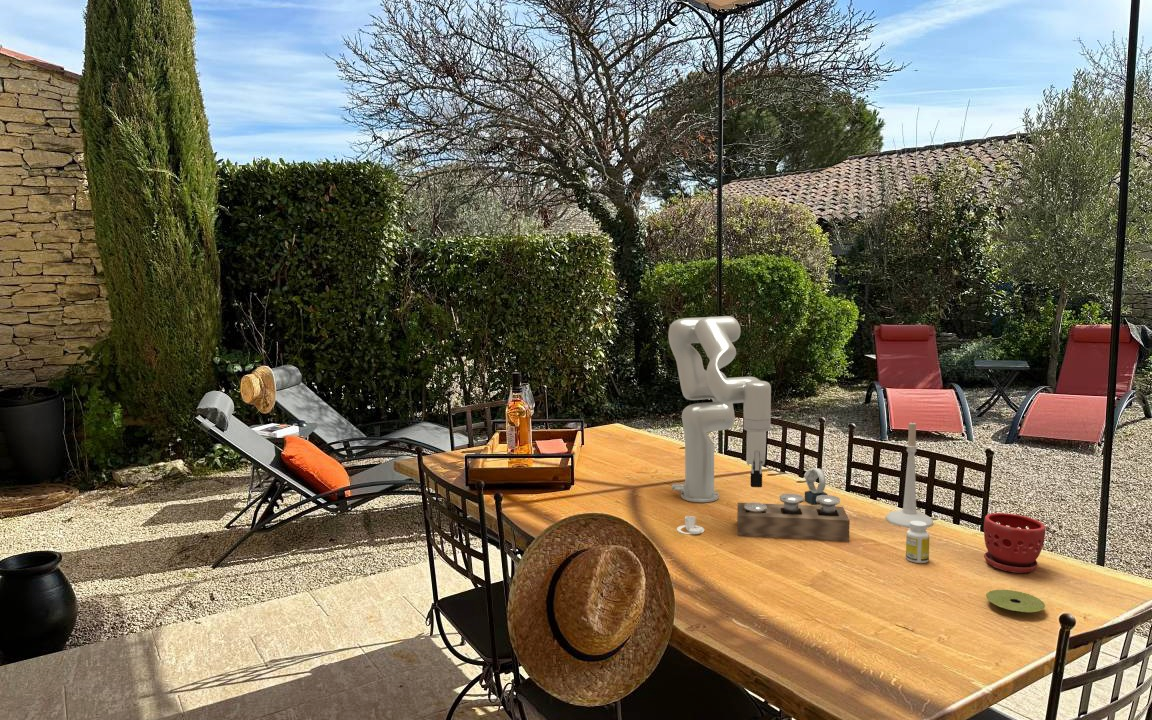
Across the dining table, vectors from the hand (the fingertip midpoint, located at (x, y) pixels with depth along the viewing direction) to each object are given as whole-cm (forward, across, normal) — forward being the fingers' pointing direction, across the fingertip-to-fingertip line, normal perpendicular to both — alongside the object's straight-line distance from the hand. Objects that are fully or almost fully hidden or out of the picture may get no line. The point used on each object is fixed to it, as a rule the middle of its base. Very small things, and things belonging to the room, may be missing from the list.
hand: (756, 486), depth 215 cm
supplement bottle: (+13, +17, +40) cm, 45 cm away
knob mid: (+8, 0, +10) cm, 13 cm away
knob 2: (+8, 0, +20) cm, 21 cm away
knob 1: (+11, 0, 0) cm, 11 cm away
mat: (+13, +43, +54) cm, 70 cm away
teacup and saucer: (+14, +6, -20) cm, 25 cm away
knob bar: (+13, 0, +10) cm, 16 cm away
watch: (+13, -29, +20) cm, 37 cm away
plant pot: (+13, +18, +62) cm, 66 cm away
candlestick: (+13, -14, +45) cm, 49 cm away
